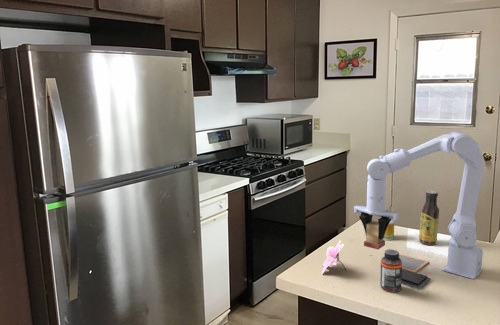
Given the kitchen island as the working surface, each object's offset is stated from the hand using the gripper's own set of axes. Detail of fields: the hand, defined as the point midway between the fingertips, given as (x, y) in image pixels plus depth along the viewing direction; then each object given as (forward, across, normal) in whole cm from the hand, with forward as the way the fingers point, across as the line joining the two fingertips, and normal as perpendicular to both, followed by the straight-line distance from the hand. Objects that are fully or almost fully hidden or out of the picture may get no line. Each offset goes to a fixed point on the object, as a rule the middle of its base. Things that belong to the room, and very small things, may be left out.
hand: (374, 237), depth 141 cm
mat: (+10, -8, -8) cm, 15 cm away
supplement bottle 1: (+10, +8, -27) cm, 30 cm away
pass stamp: (+3, 0, 0) cm, 3 cm away
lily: (+10, +9, +11) cm, 18 cm away
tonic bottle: (+10, -7, -31) cm, 33 cm away
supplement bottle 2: (+10, -11, +12) cm, 19 cm away
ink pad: (+10, -13, +3) cm, 17 cm away
